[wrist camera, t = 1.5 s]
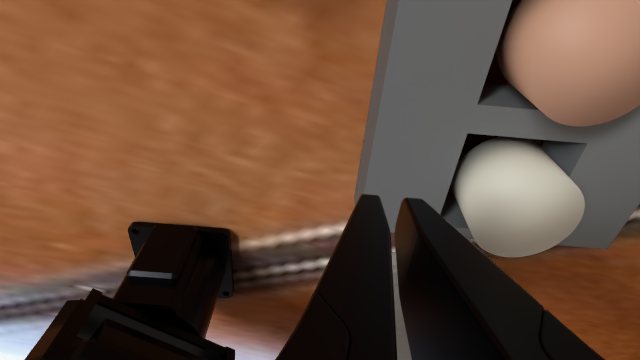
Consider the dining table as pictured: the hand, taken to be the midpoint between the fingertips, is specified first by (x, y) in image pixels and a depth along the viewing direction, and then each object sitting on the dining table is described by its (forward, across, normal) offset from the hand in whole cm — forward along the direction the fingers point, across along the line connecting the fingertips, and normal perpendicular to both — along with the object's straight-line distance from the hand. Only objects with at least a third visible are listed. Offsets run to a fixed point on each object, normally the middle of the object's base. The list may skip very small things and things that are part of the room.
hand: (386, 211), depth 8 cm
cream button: (+10, -8, +5) cm, 14 cm away
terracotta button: (+10, -8, -2) cm, 13 cm away
